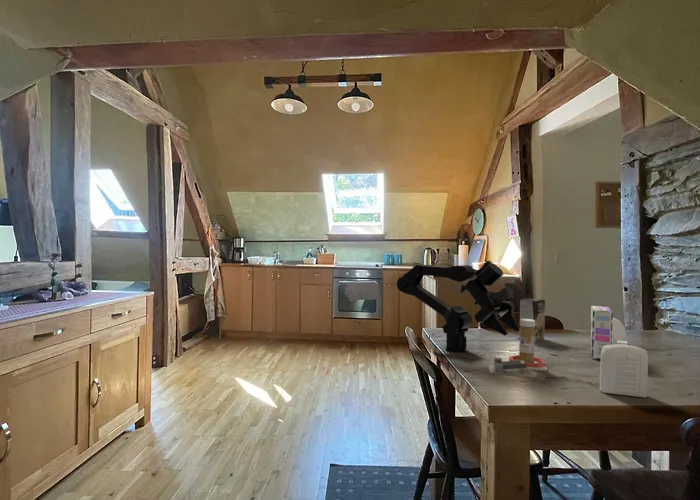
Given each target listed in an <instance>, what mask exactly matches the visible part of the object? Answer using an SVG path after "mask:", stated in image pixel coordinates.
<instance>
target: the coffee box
mask: <svg viewBox="0 0 700 500" xmlns="http://www.w3.org/2000/svg"><path fill="white" fill-rule="evenodd" d="M545 305H546V300H545V299H544V298H543V299H541V298H531V297H530V298H523V299H522V298H521V299H520V303H519V320H520V319H532V320H535V335H534V336H535V342H538V341H541V340H545V319H546V317H545V314H546V313H545V312H546V306H545ZM518 339H519V340H520V335H519V338H518Z"/></svg>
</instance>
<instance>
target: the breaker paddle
mask: <svg viewBox="0 0 700 500" xmlns="http://www.w3.org/2000/svg"><path fill="white" fill-rule="evenodd" d="M499 363H500V364H503V370H504V369H518V368H527V366H526V363H525V360H518V361H509V360H508V361H507V360H506V361H501V362H499Z"/></svg>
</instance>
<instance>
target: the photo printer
mask: <svg viewBox="0 0 700 500" xmlns="http://www.w3.org/2000/svg"><path fill="white" fill-rule="evenodd" d="M599 366H600V370H599V391H600V392H602V393H604V394H611V395H612V394H614V395H620V396H621V395H622V396H632V397H638V398H647V397H648V378H649V353H648V351H647V350H646V349H643V348H641V347H639V346H634V345H631V344H630V345H629V344H628V345H624V344H614V345H607V346H603V347H602V350H601V360H600V365H599Z"/></svg>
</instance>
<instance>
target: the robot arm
mask: <svg viewBox="0 0 700 500" xmlns="http://www.w3.org/2000/svg"><path fill="white" fill-rule="evenodd" d="M424 276H427V277H428V276H429V277H439V278H441V277H442V278H446V279H449V280H451V281H455V282H459V283H462V282H463V283H464V282H467V283H465V284H461V288H460V293H461V294H462V293H463V294H465V293H468V294H469V295H470V296H471V298H472V299H473V301H475V302H474V305H475V306H479V307H480V309H478V311H477V312H476V313H475V314H474V320H475V321H476V322H477V323H478V324H480V323H481V325H484V326H486V327H488V328H489V329H492V330H493V331H495V332H498V333H499V334H501V335H503V336H507V335H508V331H507V329H505V327H504V325H503V324H502V323H504V324H505V325H507V326H508V327H509V328H511V329H512V330H514V331H515V332H520V326H519V325H518V322H517V320H516V318H515V315H514V311H515V307H516V305H515V304H514V303H513V301H506V300H510V299H514V298H515V297H514V290H512V288H509V287H508V286H505V287H503V288H501V290H500V291H497V292H494V291H493V290H492V291H490V290H489V289H488V288H487V286H489V287H491V286H493V285H494V284H495V283H496V282H497V281H498V280H500V278H502V277H503V276H504V271H503V270H502V269H501V268H500V266H498V265H497V264H495V263H493V262H492V261H491V260H486V261H485V262H484V264H483V265H482V266H481V267H480V268H478V269H474V268H473V266H471V265H469V264H468V265H465V264H461V265H455V266H454V265H452V266H440V265H426V264H415V265H414V266H413V267H412V268H411V269H410V270H408V271H407V272H405V273H404V274H403V275H402V276H401V277H399V278H398V279H397V281H396V287H397V290H398V291H399V292H401V293H403V294H406V295H409V296H414V297H415V298H417V299H418V300H419V301H421V302H422V303H423V304H425V305H426V306H428V307H429V308H431V309H432V310H433V311H434V312H436V313H437V314H439V315H440V316H442V317H443V319H444V321H445V324H444V325H443V326H442V332H443V334H446V338H445V339H446V344H445V345H446V347H445V351H447V352H458V353H459V352H460V353H466V350H467V338H468V337H467V336H465V335H466V333H467V332H468V331H469V328H470V327H471V326H472V324H473V318H472V317H473V316H472V315H471V314H470V313H469V310H466V309H464V308H463V307H462V306H461V305H455V306H452V305H451V306H450V304H448V303H447V302H445V301H444V300H443V299H440V298H439V297H437V296H436V295H435V294H434V293H432V292H431V291H429V290H427V289H426V288H424V287H423V285H422V283H421V282H422V281H423V279H424Z"/></svg>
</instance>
